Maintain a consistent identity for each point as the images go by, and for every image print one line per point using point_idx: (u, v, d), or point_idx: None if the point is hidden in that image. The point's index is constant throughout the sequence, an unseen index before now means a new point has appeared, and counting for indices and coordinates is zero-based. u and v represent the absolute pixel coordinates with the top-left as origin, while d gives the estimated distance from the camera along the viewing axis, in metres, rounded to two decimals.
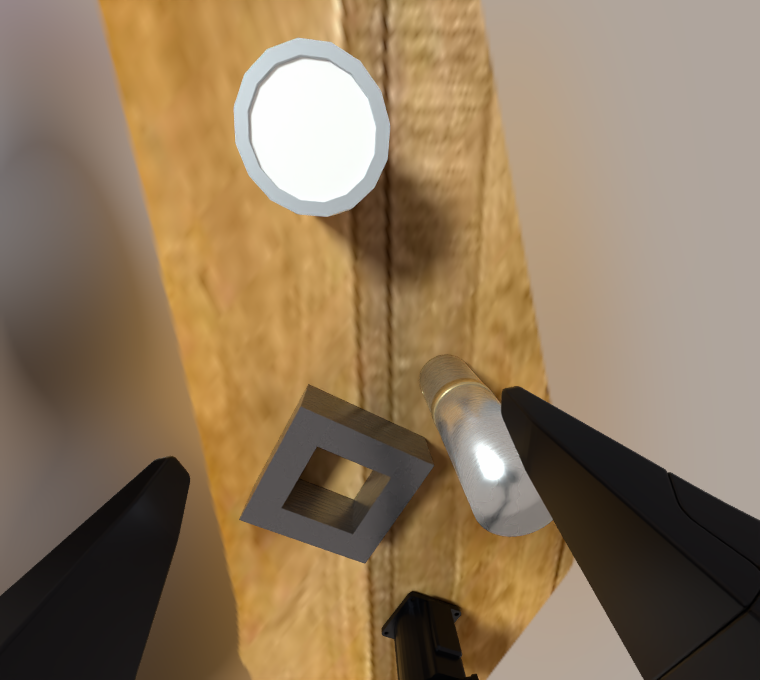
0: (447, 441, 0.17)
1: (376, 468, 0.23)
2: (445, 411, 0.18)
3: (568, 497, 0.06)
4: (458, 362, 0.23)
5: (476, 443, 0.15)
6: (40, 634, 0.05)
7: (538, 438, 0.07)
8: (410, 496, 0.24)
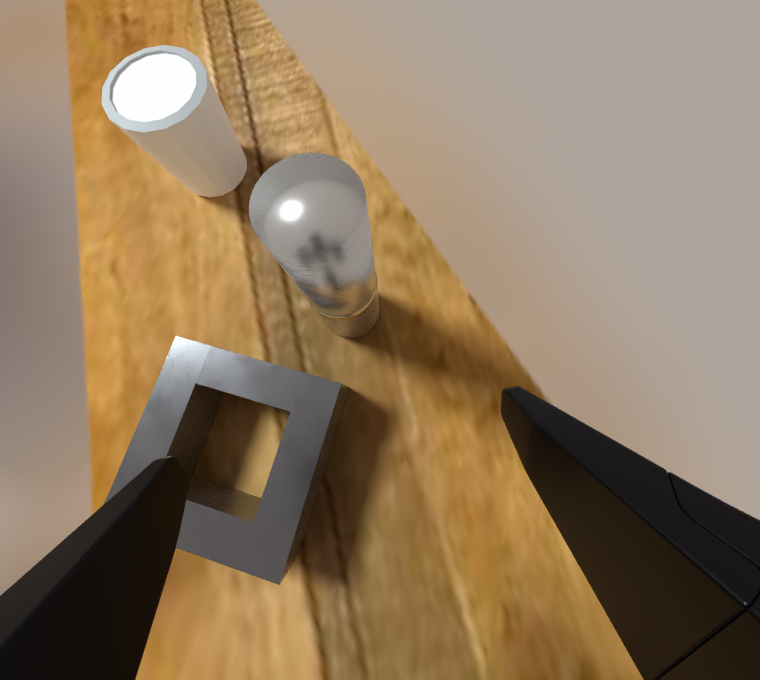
0: None
1: (269, 401, 0.19)
2: None
3: (568, 497, 0.06)
4: None
5: None
6: (41, 633, 0.05)
7: (538, 438, 0.07)
8: (322, 438, 0.18)
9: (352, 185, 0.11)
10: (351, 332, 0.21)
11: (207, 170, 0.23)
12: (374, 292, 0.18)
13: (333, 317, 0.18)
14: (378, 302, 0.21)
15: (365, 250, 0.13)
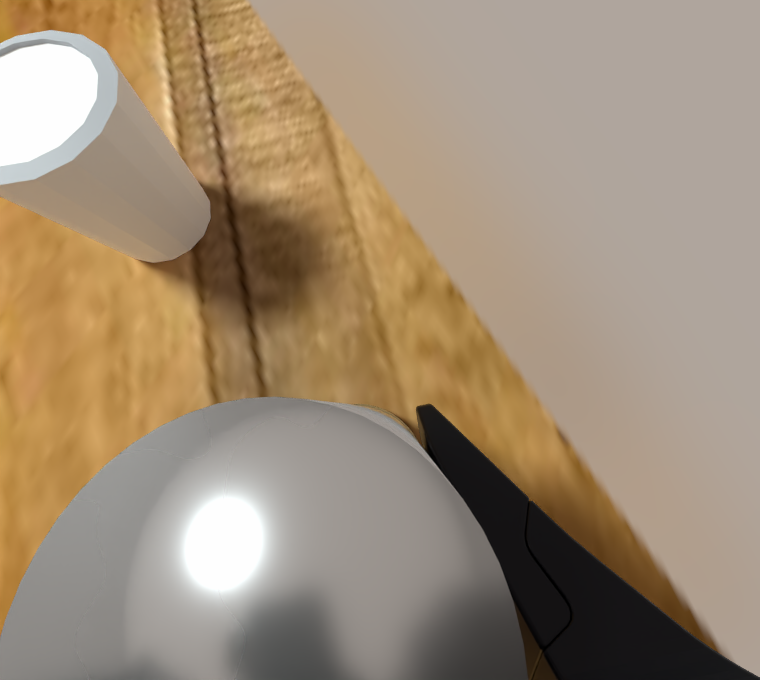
0: None
1: None
2: None
3: None
4: None
5: None
6: None
7: (432, 459, 0.07)
8: None
9: (456, 577, 0.02)
10: None
11: (139, 231, 0.14)
12: None
13: None
14: None
15: None
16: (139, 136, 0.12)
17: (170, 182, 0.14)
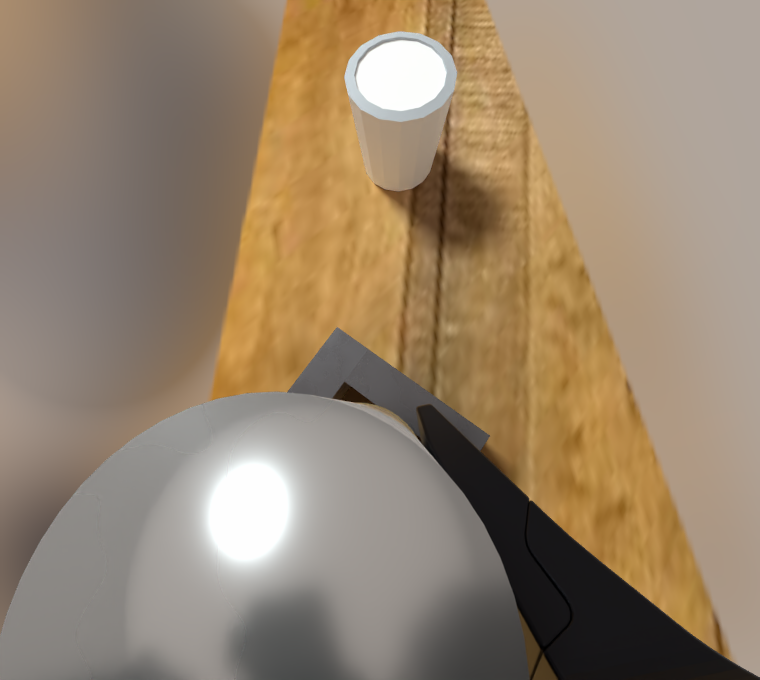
0: None
1: (412, 427, 0.18)
2: None
3: None
4: None
5: None
6: None
7: None
8: None
9: (456, 571, 0.02)
10: None
11: (404, 166, 0.22)
12: None
13: None
14: None
15: None
16: (446, 111, 0.20)
17: (436, 142, 0.22)
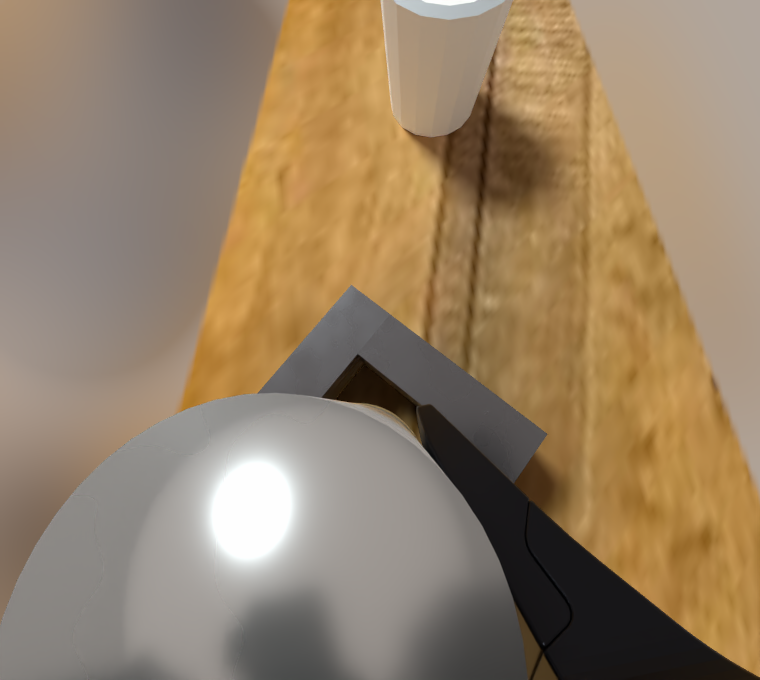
0: None
1: None
2: None
3: None
4: None
5: None
6: None
7: None
8: None
9: (455, 573, 0.02)
10: None
11: (443, 98, 0.18)
12: None
13: None
14: None
15: None
16: (504, 18, 0.15)
17: (485, 68, 0.18)
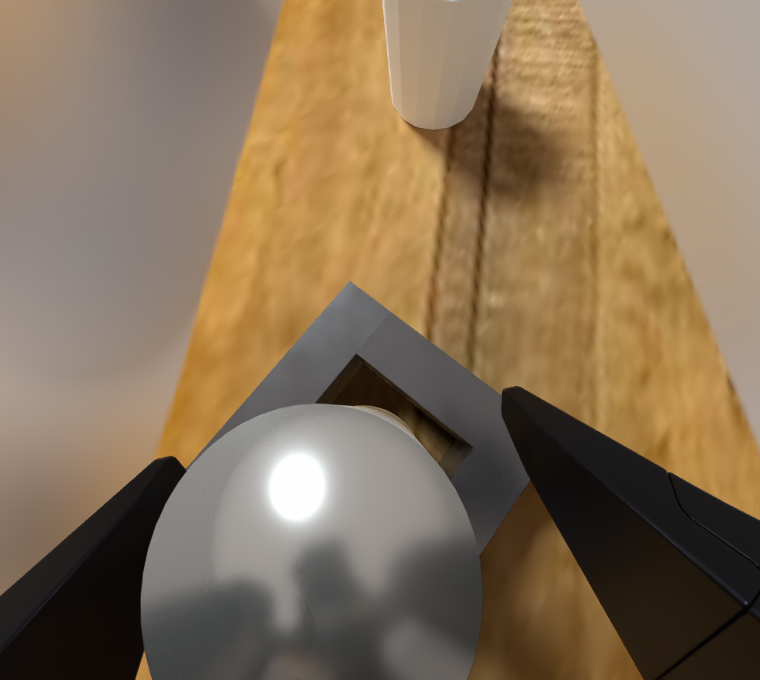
0: None
1: (448, 420, 0.13)
2: None
3: (568, 497, 0.06)
4: None
5: None
6: (40, 634, 0.05)
7: (538, 438, 0.07)
8: (508, 505, 0.12)
9: (438, 519, 0.04)
10: None
11: (445, 88, 0.17)
12: None
13: None
14: None
15: None
16: (510, 3, 0.15)
17: (489, 56, 0.17)
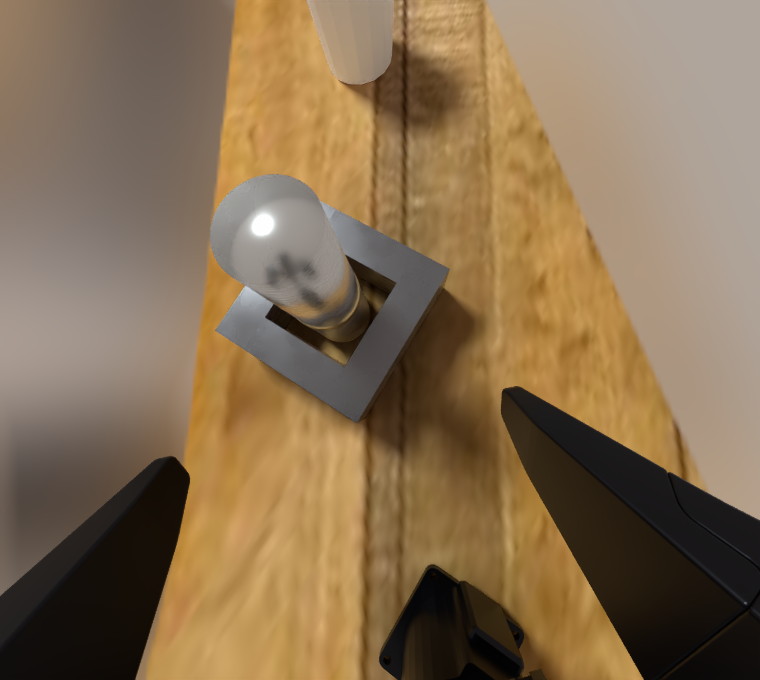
0: None
1: (379, 269, 0.20)
2: None
3: (568, 497, 0.06)
4: None
5: None
6: (40, 635, 0.05)
7: (538, 438, 0.07)
8: (420, 312, 0.19)
9: (309, 203, 0.11)
10: (343, 337, 0.21)
11: (361, 49, 0.24)
12: (357, 297, 0.18)
13: (320, 328, 0.18)
14: (366, 304, 0.21)
15: (335, 263, 0.13)
16: None
17: (388, 19, 0.23)
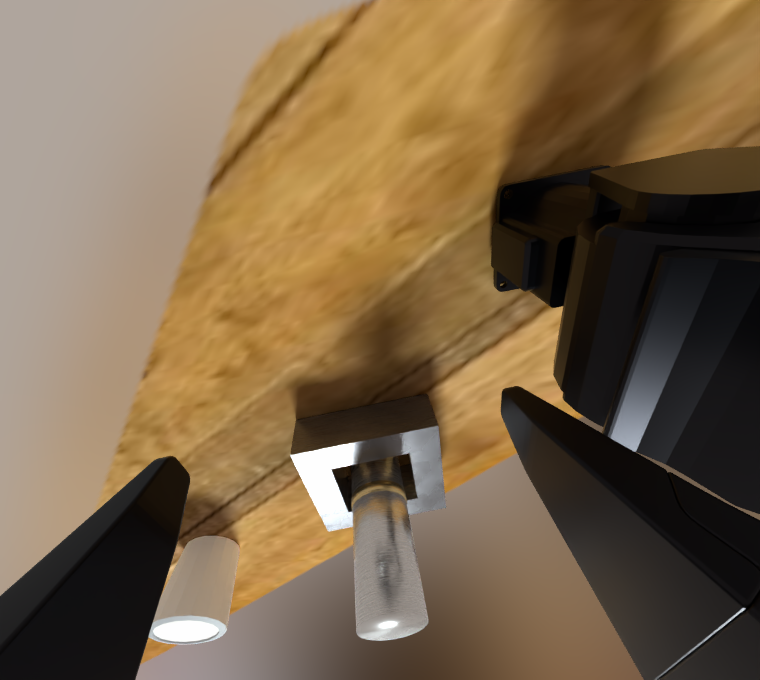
0: None
1: (332, 480, 0.25)
2: None
3: (568, 497, 0.06)
4: None
5: None
6: (41, 634, 0.05)
7: (538, 438, 0.07)
8: (335, 447, 0.23)
9: (363, 627, 0.17)
10: None
11: (215, 565, 0.31)
12: (365, 494, 0.23)
13: (401, 493, 0.23)
14: None
15: (374, 574, 0.18)
16: (168, 601, 0.28)
17: (183, 573, 0.30)
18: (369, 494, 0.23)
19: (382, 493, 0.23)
